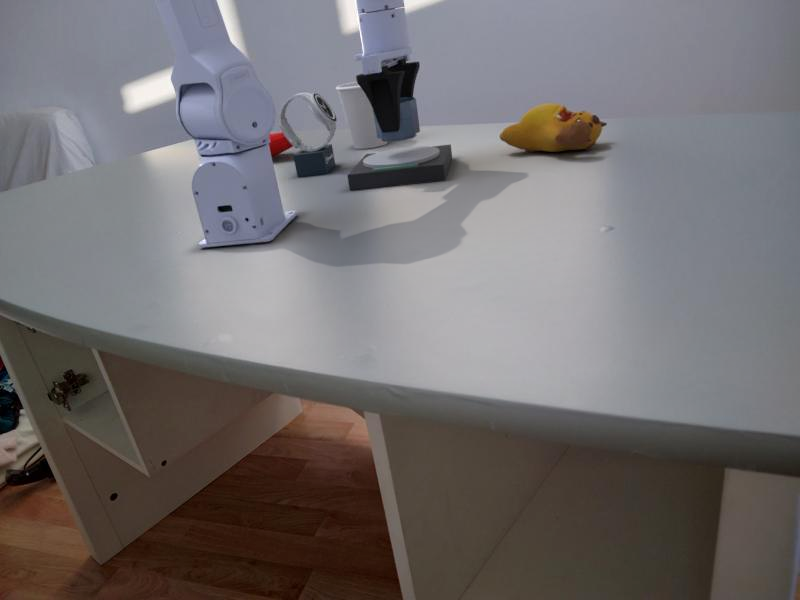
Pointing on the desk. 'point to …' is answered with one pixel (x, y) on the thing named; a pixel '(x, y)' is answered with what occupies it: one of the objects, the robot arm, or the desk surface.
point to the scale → (401, 167)
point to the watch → (312, 157)
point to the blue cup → (402, 122)
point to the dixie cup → (359, 116)
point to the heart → (278, 143)
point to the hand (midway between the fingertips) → (397, 126)
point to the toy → (553, 129)
